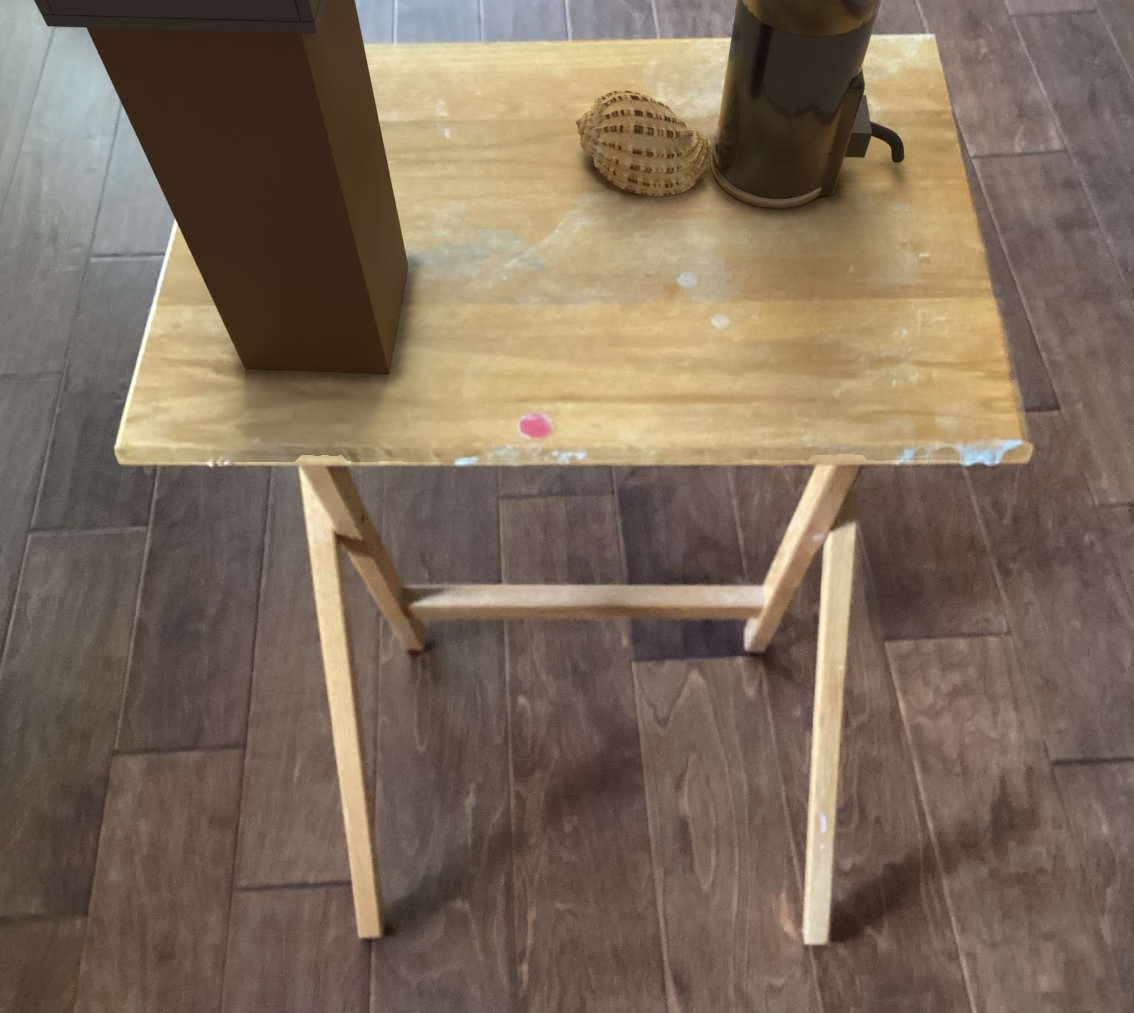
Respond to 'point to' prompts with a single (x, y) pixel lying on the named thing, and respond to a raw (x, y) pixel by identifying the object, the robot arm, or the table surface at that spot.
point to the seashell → (642, 144)
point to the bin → (265, 166)
